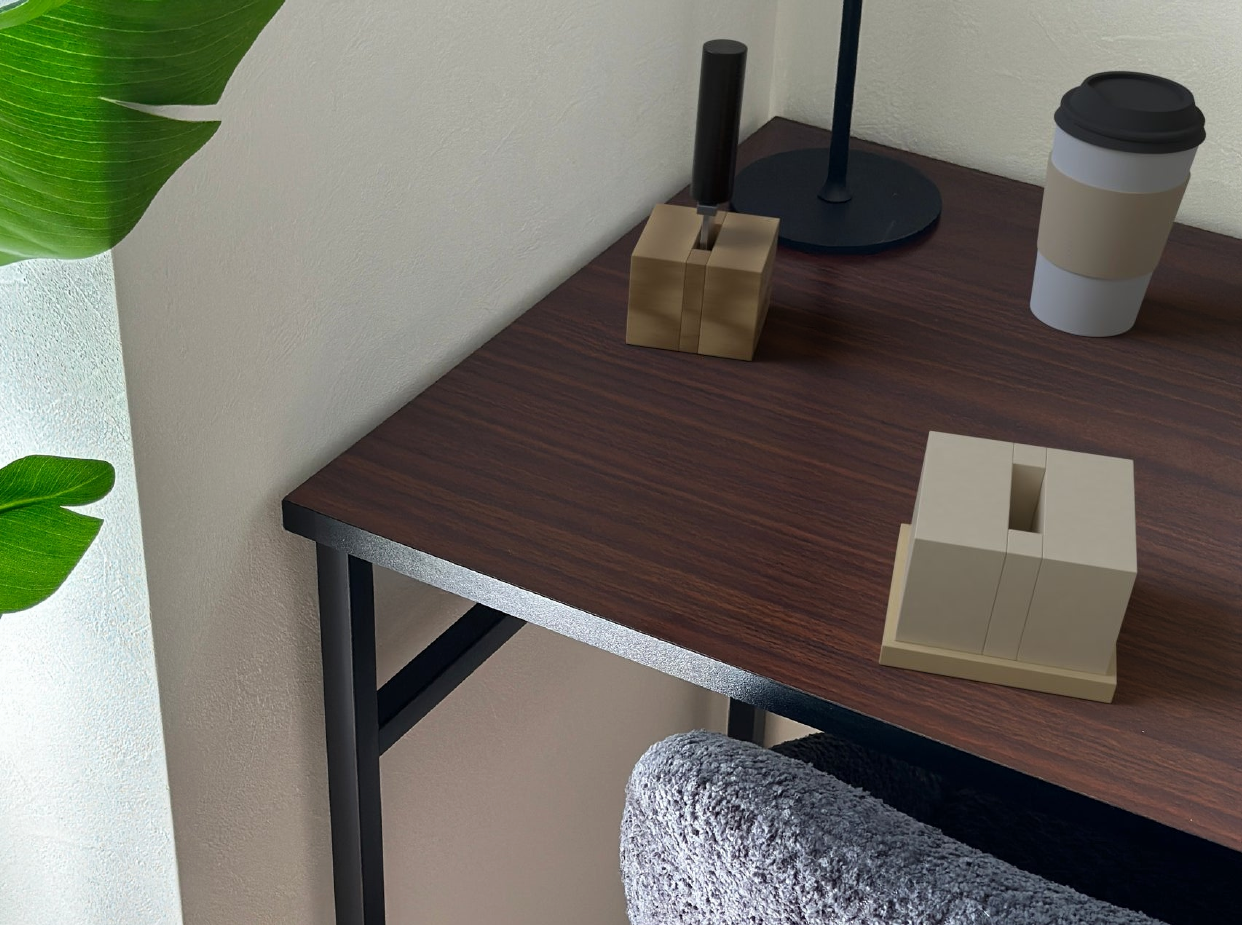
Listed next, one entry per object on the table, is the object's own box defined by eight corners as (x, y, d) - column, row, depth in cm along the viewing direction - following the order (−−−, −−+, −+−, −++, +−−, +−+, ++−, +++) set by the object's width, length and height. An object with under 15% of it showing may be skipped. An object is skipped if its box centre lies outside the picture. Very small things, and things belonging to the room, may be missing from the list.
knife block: (769, 304, 113) (780, 218, 109) (751, 361, 107) (762, 271, 103) (650, 288, 114) (656, 202, 110) (625, 344, 108) (631, 254, 104)
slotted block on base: (1109, 574, 90) (1143, 456, 85) (1111, 703, 82) (1149, 580, 77) (897, 541, 92) (920, 423, 87) (878, 664, 83) (902, 541, 79)
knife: (723, 315, 111) (751, 39, 100) (715, 338, 109) (743, 58, 98) (683, 310, 112) (707, 34, 100) (674, 332, 109) (698, 53, 98)
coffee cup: (1117, 277, 117) (1175, 55, 107) (1177, 340, 110) (1245, 108, 101) (991, 284, 116) (1039, 60, 106) (1044, 348, 109) (1100, 114, 99)
